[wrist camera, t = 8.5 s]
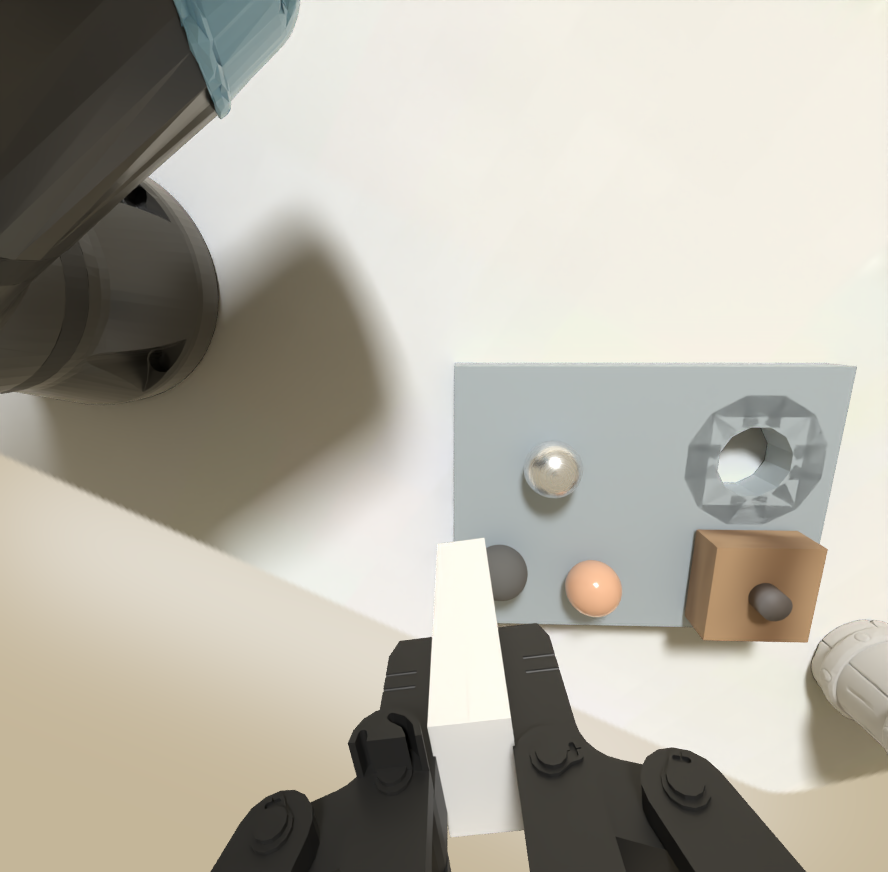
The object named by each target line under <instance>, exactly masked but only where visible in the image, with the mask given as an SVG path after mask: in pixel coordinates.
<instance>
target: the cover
mask: <svg viewBox="0 0 888 872" xmlns="http://www.w3.org/2000/svg"><path fill="white" fill-rule="evenodd" d="M827 550H828V549H826V548H825V547H823V546H821V545H820V544H818V543H817V542H815V541H813V540H812V539H810V538H809V537H807V536H805V535H804V534H802V533H800V532H799V531H778V530H701V529H697V530H696V537H695V544H694V552H693V559H692V566H691V573H690V580H689V587H688V594H687V602H686V609H685V617H686V618H687V620H688V621H689V622H690V623H691V625H692V626H693V627H694V629H695V630H696V631H697V633H698V634H699V635H700V637H701V638H702V639H703V640H716V641H763V642H808V638H809V633H810V628H811V624H812V619H813V615H814V610H815V605H816V601H817V596H818V592H819V587H820V582H821V578H822V573H823V569H824V564H825V559H826V555H827Z"/></svg>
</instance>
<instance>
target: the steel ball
mask: <svg viewBox="0 0 888 872" xmlns="http://www.w3.org/2000/svg"><path fill="white" fill-rule="evenodd" d="M524 476H525V479H526V481H527V483H528V485H529V486H530V487H531V489H532V490H534V491H535V492H536V493H538V494H539V495H541V496H544V497H547V498H561V497H564V496H567V495H568V494H570V493H572V492H573V491H574V490H575V489H576V488H577V487H578V485H579V484H580V482H581V479H582V476H583V464H582V460H581V458H580V456H579V454H578V453H577V451H576V450H575V449H574V448H573V447H572V446H570V445H569V444H567V443H565V442H562V441H557V440H549V441H544V442H541V443H539V444H537V445H536V446H535V447H533V448H532V449H531V450H530V452H529V453H528V454H527V456H526V459H525V462H524Z"/></svg>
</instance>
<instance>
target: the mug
mask: <svg viewBox="0 0 888 872" xmlns="http://www.w3.org/2000/svg"><path fill="white" fill-rule="evenodd" d="M823 641H824V642H823ZM823 641H821V642H820V643H819V646H818V649H817V651H816V654H815V656H814V657H813V660H812V665H811V667H812V674H813V676H814V679H815V680H816V681H817V684H818V685H819V686H820V687H821V688H822V690H823V693H824V695H825V696H826V698H827V700H828V701H829V703H830V704H831V705H832V706H833V707H834V708H836V709H837V710H838V711H839V712H840V713H841V714H842V715H843V716H844V717H846V718H850V719H852V720H854V721H856V722H857V723H858V724H859V725H861V726H862V727H863V728H864V729H865V730H866V731H867V732H868V733H869V734H870V735H871V736H872V737H873V738H874V739H875V740H876V741H877V742H879V743H880V744H881V745H882V746H883V747H884V748H885V751H886V753H887V754H888V623H886V622H883V621H877V620H873V621H872V622H869V621H868V620H857V621H854V622H850V623H847V624H844V625H842V626H840V627H838V628H836V629H835V630H833V631H832V632H830V633H829V634H828V635H827V636H826V637H825V638H824V639H823Z"/></svg>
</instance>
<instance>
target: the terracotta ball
mask: <svg viewBox="0 0 888 872" xmlns="http://www.w3.org/2000/svg"><path fill="white" fill-rule="evenodd" d="M565 590H566V594H567V597H568V599H569V601H570V603H571V604H572V606H573V607H574V608H575V609H576V610H578V611H579V612H580V613H582V614H584V615H587V616H590V617H603V616H606V615H608V614H610V613H612V612H613V611H614V610H615V609H616V608H617V607H618V605H619V603H620V601H621V598H622V585H621V581H620V579H619V577H618V575H617V574H616V572H615V571H614V570H613V569H612V568H611V567H610V566H608V565H607V564H605V563H603V562H601V561H597V560H585V561H582V562H579V563H577V564H576V565H574V566H573V567H572V568H571V570H570V571H569V573H568V575H567V577H566V581H565Z"/></svg>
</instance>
